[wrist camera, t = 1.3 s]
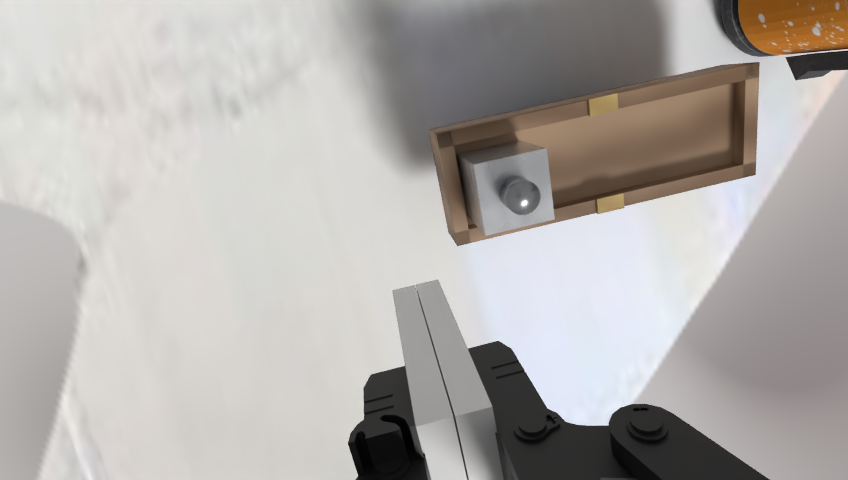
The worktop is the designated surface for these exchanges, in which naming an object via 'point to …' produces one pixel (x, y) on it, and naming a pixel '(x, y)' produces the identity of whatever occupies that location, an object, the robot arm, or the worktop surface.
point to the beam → (618, 143)
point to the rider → (506, 186)
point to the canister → (791, 32)
